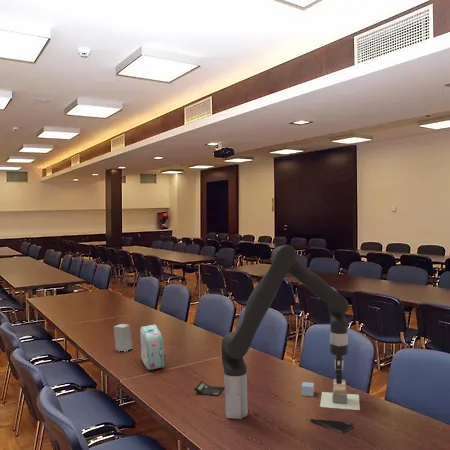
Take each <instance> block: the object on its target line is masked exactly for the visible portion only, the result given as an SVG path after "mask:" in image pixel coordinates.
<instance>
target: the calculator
mask: <svg viewBox="0 0 450 450" xmlns="http://www.w3.org/2000/svg"><path fill="white" fill-rule="evenodd" d="M193 391H195V392H196V393H198V394H200V395H201V396H209V397H210V396H211V397H219V396H220V395H221V394H222V393H223V391H225V386H224V387H222V386H210V385H208V384H207V383H206V382H204V381H203V380H201V381H200V382H199V383H198V384H197V386H196V387H195V388H194V390H193Z"/></svg>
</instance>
